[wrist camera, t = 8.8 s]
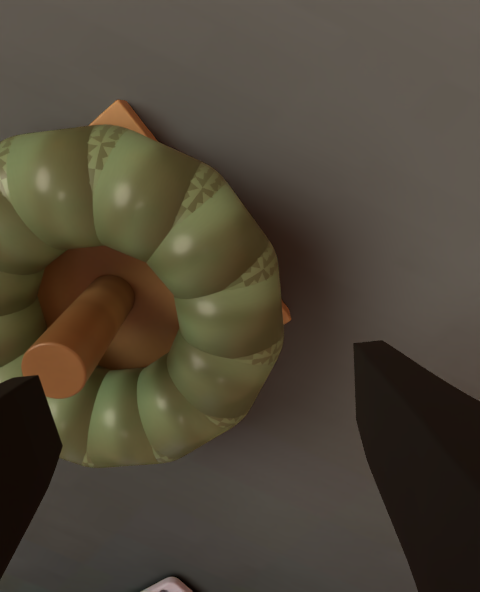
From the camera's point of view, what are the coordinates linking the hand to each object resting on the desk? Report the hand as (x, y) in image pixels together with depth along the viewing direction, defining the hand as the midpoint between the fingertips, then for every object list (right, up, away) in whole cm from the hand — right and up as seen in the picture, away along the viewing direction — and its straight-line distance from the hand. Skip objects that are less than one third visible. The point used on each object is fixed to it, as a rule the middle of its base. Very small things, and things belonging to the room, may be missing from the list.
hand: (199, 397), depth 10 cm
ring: (-4, +2, +5) cm, 7 cm away
